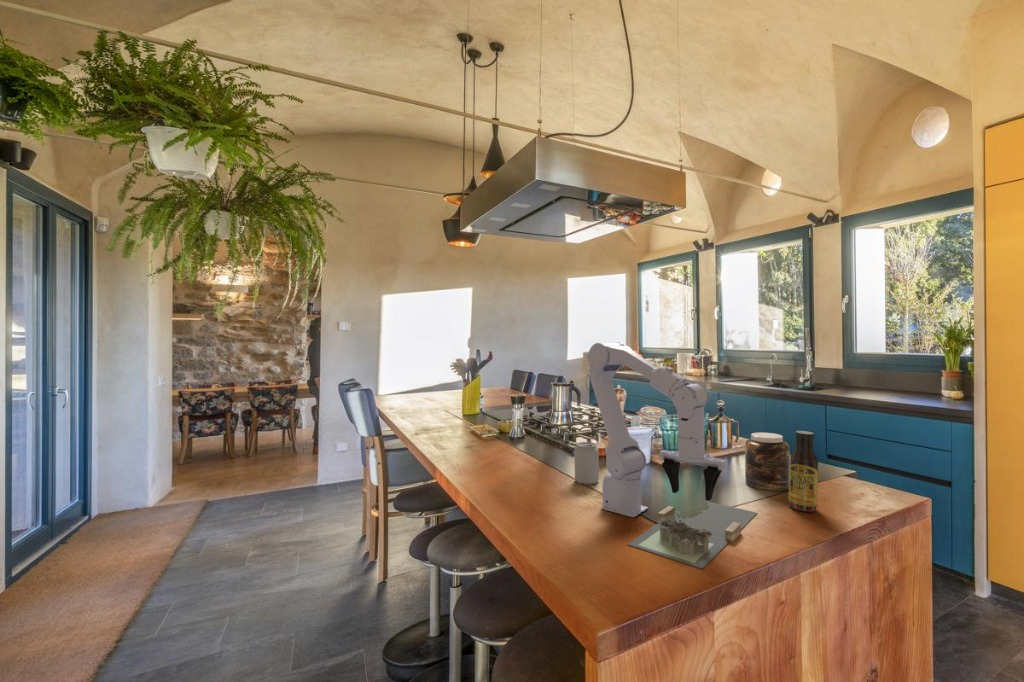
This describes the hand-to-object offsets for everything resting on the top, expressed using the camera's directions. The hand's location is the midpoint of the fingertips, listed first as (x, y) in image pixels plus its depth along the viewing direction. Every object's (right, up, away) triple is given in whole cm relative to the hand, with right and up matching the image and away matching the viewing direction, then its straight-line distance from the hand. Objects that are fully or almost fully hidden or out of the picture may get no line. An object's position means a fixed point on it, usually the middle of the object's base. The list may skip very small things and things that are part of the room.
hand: (691, 495), depth 105 cm
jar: (+35, -8, +32) cm, 48 cm away
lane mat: (+2, -8, +2) cm, 9 cm away
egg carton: (-4, -9, -6) cm, 11 cm away
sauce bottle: (+34, -8, +13) cm, 37 cm away
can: (-18, -9, +38) cm, 43 cm away
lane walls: (+2, -8, +2) cm, 9 cm away
